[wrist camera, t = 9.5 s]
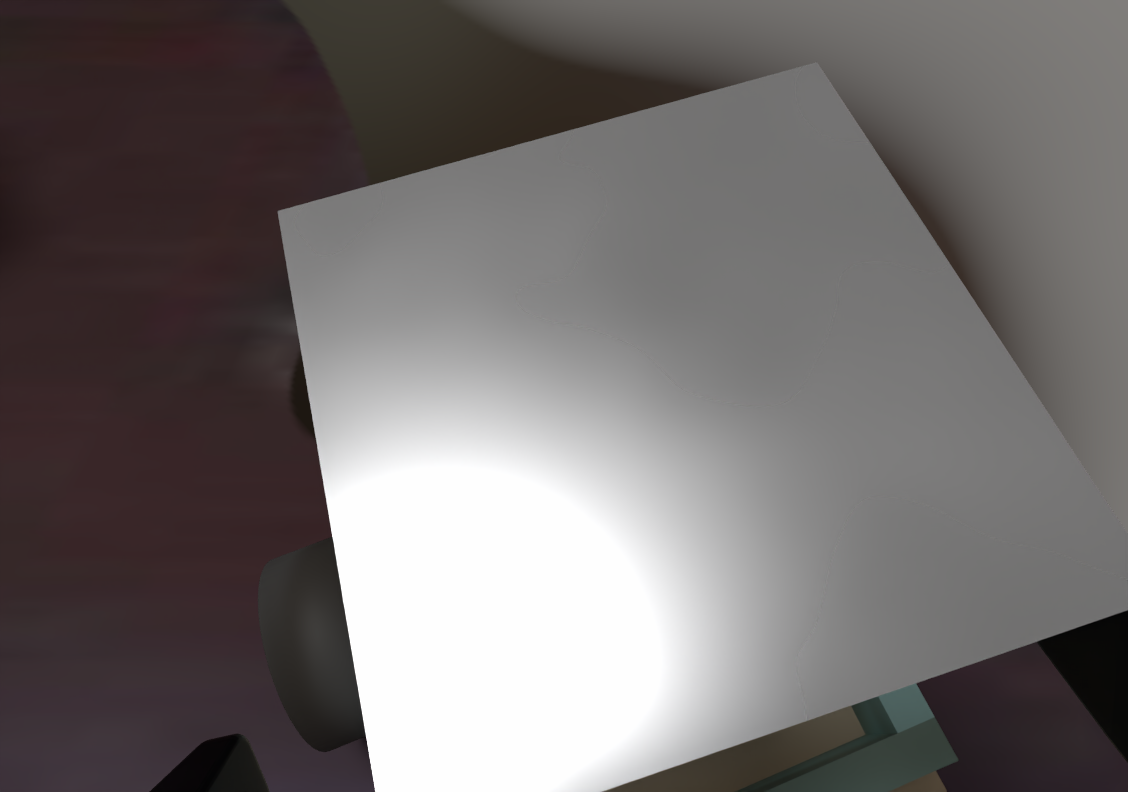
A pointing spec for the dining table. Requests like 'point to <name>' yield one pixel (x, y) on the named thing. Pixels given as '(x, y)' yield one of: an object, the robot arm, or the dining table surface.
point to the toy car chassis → (696, 788)
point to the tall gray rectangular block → (669, 446)
